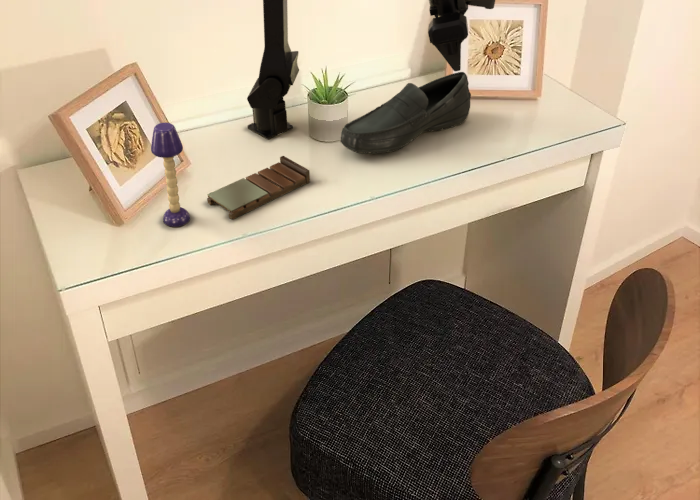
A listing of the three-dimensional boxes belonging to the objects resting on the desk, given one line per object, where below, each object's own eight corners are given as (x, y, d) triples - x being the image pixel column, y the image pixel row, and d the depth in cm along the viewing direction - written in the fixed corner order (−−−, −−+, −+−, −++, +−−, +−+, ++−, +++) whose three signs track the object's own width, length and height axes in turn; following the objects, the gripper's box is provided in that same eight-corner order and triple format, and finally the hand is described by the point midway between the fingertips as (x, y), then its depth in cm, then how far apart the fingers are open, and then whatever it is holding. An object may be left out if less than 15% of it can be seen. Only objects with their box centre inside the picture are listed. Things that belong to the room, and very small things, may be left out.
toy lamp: (193, 210, 123) (179, 117, 113) (194, 226, 119) (179, 132, 109) (163, 213, 122) (146, 120, 112) (163, 230, 118) (145, 135, 108)
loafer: (329, 150, 138) (327, 99, 132) (438, 103, 154) (441, 55, 148) (367, 172, 132) (367, 119, 126) (477, 120, 147) (482, 71, 141)
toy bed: (232, 220, 121) (231, 207, 119) (207, 202, 125) (205, 190, 123) (310, 182, 130) (309, 170, 128) (284, 167, 134) (283, 155, 132)
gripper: (491, -23, 114) (506, 73, 123) (489, -57, 129) (502, 31, 138) (419, -7, 117) (438, 85, 126) (424, -42, 132) (441, 43, 141)
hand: (457, 60), depth 132 cm, fingers open, 9 cm apart
